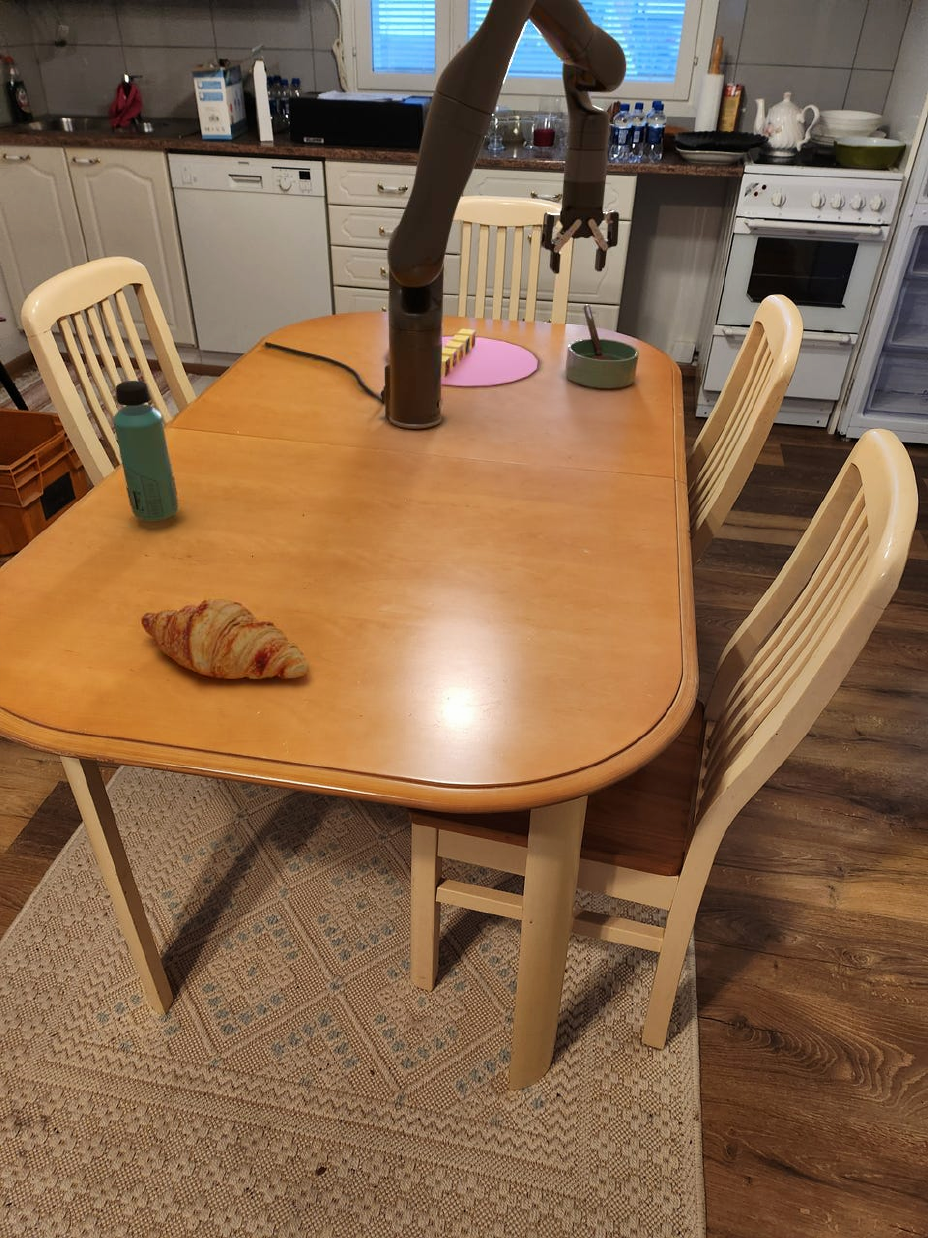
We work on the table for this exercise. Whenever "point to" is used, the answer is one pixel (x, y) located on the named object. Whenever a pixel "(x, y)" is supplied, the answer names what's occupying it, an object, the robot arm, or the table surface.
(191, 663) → the croissant
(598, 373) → the bowl
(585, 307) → the spatula
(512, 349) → the platter
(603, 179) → the robot arm
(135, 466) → the beverage bottle
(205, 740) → the table surface
